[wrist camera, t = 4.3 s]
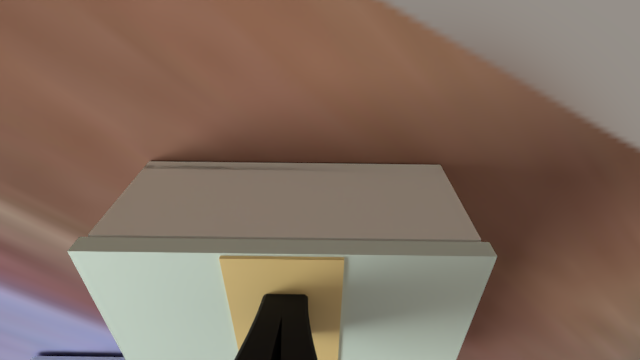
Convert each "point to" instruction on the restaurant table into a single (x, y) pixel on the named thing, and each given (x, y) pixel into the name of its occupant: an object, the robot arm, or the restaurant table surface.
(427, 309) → the box lid
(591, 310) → the restaurant table surface
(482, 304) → the restaurant table surface
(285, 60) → the restaurant table surface
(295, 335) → the robot arm
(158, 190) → the parcel box
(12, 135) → the restaurant table surface
